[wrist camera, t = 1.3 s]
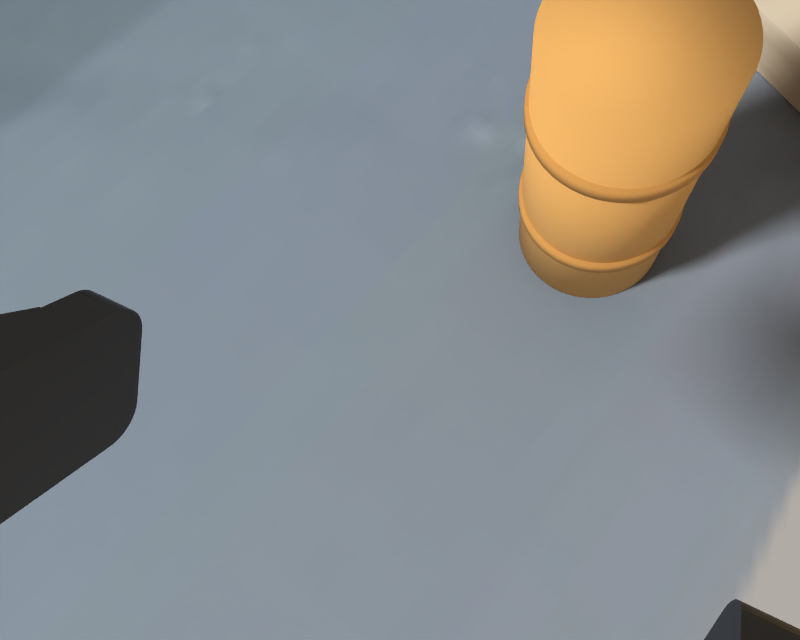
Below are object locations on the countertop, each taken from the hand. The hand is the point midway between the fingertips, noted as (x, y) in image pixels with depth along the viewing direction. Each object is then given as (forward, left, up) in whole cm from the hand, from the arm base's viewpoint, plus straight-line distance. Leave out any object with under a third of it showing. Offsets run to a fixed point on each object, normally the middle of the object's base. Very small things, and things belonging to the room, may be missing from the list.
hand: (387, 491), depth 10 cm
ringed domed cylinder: (-6, +10, -16) cm, 20 cm away
